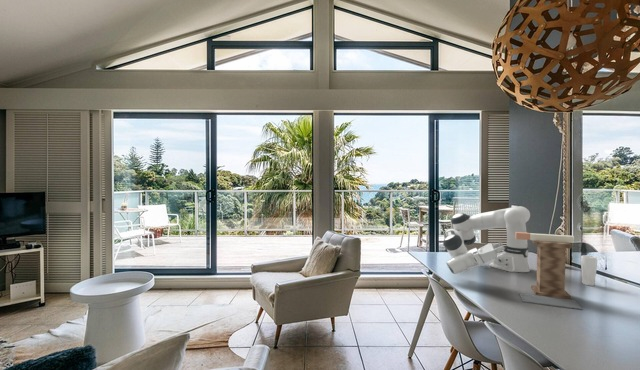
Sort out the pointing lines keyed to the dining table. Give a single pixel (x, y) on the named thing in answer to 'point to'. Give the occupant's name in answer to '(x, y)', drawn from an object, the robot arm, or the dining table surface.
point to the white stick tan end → (544, 237)
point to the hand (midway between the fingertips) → (503, 245)
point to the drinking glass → (588, 269)
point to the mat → (550, 301)
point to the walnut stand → (551, 269)
